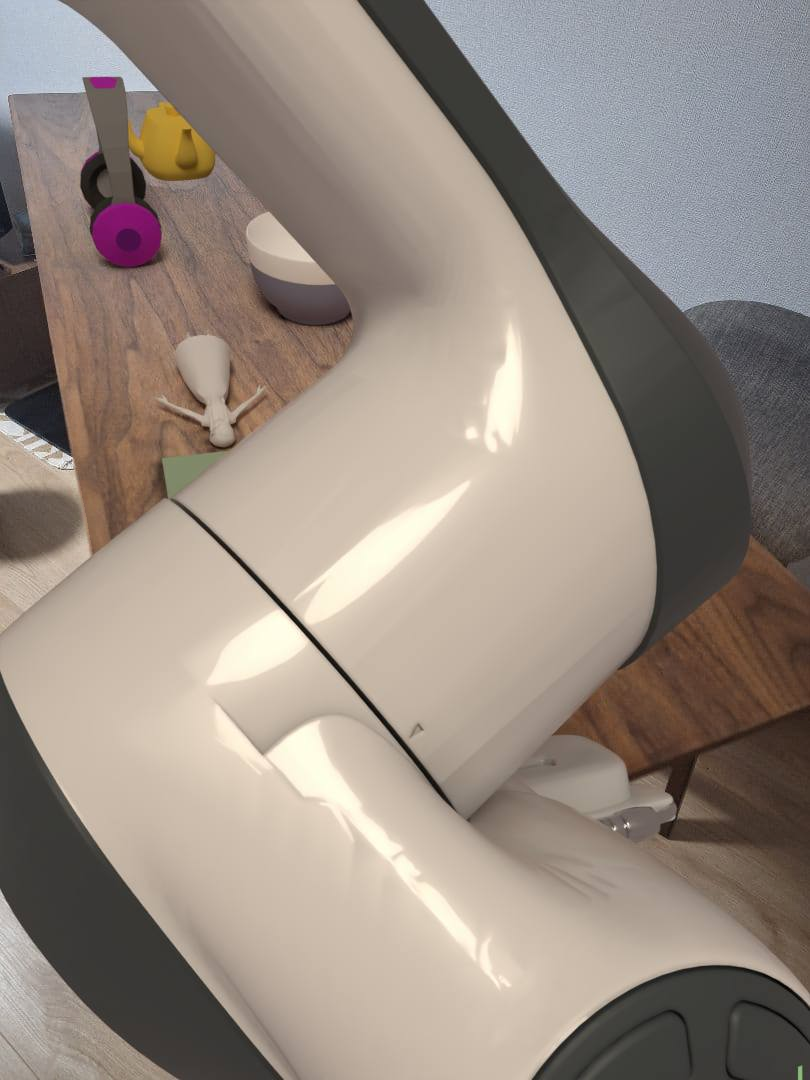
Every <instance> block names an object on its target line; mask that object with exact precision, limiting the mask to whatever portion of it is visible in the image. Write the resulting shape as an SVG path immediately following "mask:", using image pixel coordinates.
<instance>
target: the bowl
mask: <svg viewBox="0 0 810 1080" xmlns="http://www.w3.org/2000/svg"><path fill="white" fill-rule="evenodd" d="M245 242H246V252H247V258H248V260H249V265H250V270H251V273H252V276H253V279H254V281H255V283H256V284H257V286H258V288H259V290H260V291H261V293H262V295H263V297H264V298H265V299H266V300H267V302H269V303H270V304H271V305H272V306H274V307H276V309H277V311H278V313H279V314H280V315H281V316H282V317H284V318H285V319H287V320H289V321H291V322H295V323H297V324H302V325H308V326H323V325H330V324H334V323H337V322H339V321H341V320H344V319H345V318H347V316H348V315H349V314H350V313H351V309H350V306H349V303H348V301H347V298H346V297H345V295H344V294H343V292H342V291H341V290H340V289H339V287H338V286H337V285H336V284H335V283H334V282H333V281H332V280H331V279H330V277H329V276H328V275H327V274H326V273H325V272H324V271H323V270H322V269H321V268H320V267H319V265H318V264H317V263H316V262H315V261H314V260H313V259H312V258H311V257H310V256H309V255H308V253H307V252H306V251H305V250H304V249H303V248H302V247H301V246H300V245H299V244H298V243H297V241H296V240H295V239H294V238H293V237H292V236H291V235H290V234H289V233H288V232H287V231H286V229H285V228H284V227H283V226H282V225H281V224H280V223H279V222H278V221H277V220H276V219H275V217H274V216H273V215H272V214H271V213H270V212H269V211H266V212H264V213H261V214H259V215H258V216H255V217H254V218H253V219H252V220H251V221H249V223H248V225H247V226H246V228H245Z"/></svg>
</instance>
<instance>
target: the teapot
mask: <svg viewBox="0 0 810 1080" xmlns="http://www.w3.org/2000/svg"><path fill="white" fill-rule="evenodd" d="M145 112H146V113H145V115H144V118H143V121H142V124H141V128H140V133H139V137H138V136H136V135H135V133H134V131H133V128H132V124H131V121H130V119H129V118H128V140H129V152H131V154H132V155H134V156H135V157H137V158H138V159H139V160H140V162H141V164H142V166H143V168H144V169H145V170H146V171H147V173H148V174H149V175H151V176H152V177H154V178H155V179H157V180H160V181H165V182H181V181H182V182H183V181H192V180H193V181H195V180H200V179H204V178H207V177H209V176H210V175H211V173H212V172H213V170H214V168H215V166H216V155H217V154H216V153H215V152H214V151H213V150H212V149H211V148H210V147H209V145H208V144H207V143H206V142H205V141H204V140H203V139H202V138H201V137H200V136H199V135H198V133H197V132H196V131H195V130H194V129H193V128H192V127H191V126H190V125H189V124H188V123H187V121H186V120H185V119H184V118H183V117H182V116H181V115H180V114H179V113H178V112H177V111H176V109H175V108H174V107H173V106H172V105H171V104H170V103H169V102H168V101H167V102H165V101H159V102H158V104H157V107H151V108H149V109H147V111H145Z"/></svg>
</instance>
